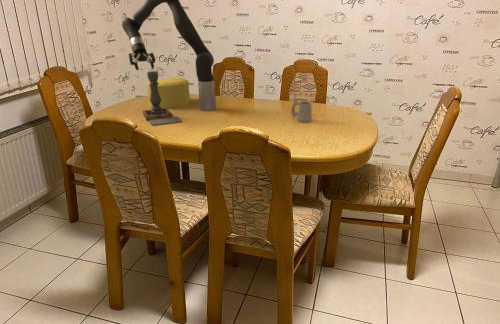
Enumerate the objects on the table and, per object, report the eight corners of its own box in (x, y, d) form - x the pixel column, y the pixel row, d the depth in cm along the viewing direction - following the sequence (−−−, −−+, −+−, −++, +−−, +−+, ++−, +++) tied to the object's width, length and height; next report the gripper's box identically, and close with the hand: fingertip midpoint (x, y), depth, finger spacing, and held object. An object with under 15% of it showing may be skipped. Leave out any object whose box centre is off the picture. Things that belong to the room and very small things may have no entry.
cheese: (159, 98, 259) (157, 76, 254) (195, 99, 254) (193, 77, 249) (142, 107, 236) (139, 83, 230) (181, 109, 231) (179, 84, 225)
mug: (308, 123, 199) (309, 101, 194) (288, 120, 204) (288, 99, 200) (313, 120, 205) (314, 98, 200) (293, 117, 210) (294, 96, 206)
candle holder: (160, 117, 213) (155, 73, 203) (149, 117, 214) (144, 72, 204) (164, 115, 218) (160, 71, 209) (154, 114, 219) (149, 71, 210)
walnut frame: (167, 112, 225) (166, 107, 224) (172, 117, 213) (171, 113, 212) (143, 114, 220) (142, 110, 219) (146, 120, 208) (146, 116, 207)
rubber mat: (177, 117, 213) (177, 116, 213) (181, 122, 204) (181, 121, 204) (148, 121, 207) (148, 119, 207) (151, 125, 199) (151, 124, 198)
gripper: (126, 42, 215) (133, 65, 210) (150, 41, 221) (158, 63, 216) (125, 51, 221) (132, 74, 216) (149, 50, 227) (156, 71, 222)
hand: (145, 68), depth 216 cm, fingers open, 8 cm apart
